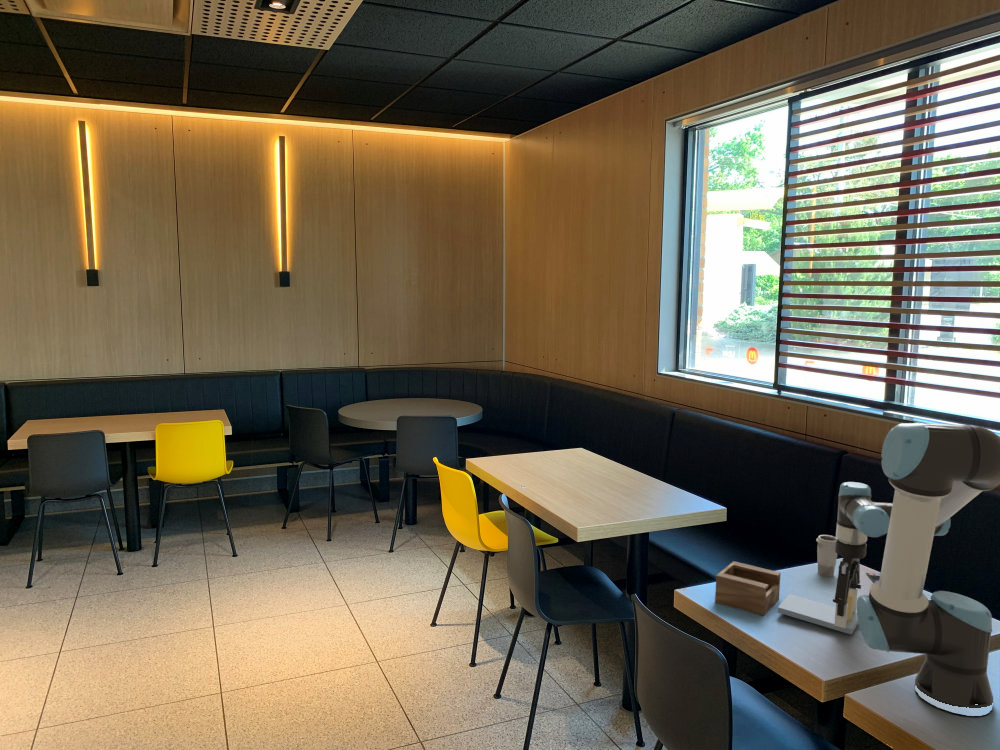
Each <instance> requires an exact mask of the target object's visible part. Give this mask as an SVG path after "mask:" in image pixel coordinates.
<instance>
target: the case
mask: <svg viewBox="0 0 1000 750" xmlns="http://www.w3.org/2000/svg"><path fill="white" fill-rule="evenodd" d="M781 575H782V574H781V572H779V571H776V570H771V569H768V568H767V569H766V568H762V567H758V566H755V565H752V564H747V563H744V562H743V563H742V562H739V561H731V563H729V564H728V565H727V566H726V567H725V568H723V569H722V570H721V571H720V572H718V573H717V574H716V576H715V592H714V593H715V596H714V603H716V604H720V605H723V606H726V607H731V608H734V609H737V610H740V611H744V612H748V613H751V614H755V615H758V614H759V616H762V617H764V616H765V615H766V614H767V613H768V612H769V611H770V610H771V609H772V607H773V606H774V605H776V603H777V602H778V601H779V599H780V588H781Z"/></svg>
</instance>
